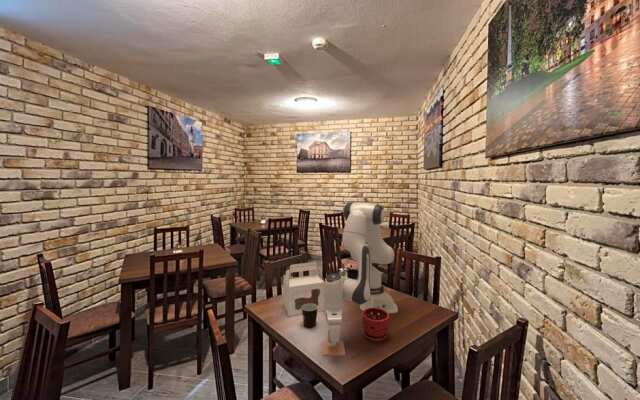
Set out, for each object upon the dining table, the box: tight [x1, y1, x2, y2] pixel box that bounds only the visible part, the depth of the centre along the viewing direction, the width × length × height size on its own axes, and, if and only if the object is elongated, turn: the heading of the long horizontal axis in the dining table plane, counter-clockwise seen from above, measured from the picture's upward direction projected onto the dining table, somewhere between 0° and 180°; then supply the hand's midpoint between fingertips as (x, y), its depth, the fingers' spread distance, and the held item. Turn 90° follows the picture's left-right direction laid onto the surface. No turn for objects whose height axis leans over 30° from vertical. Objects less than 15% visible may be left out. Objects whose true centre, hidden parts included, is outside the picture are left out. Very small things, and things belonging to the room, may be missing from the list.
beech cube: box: [327, 329, 340, 346], centre depth 130 cm, size 5×5×5 cm
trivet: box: [321, 340, 346, 357], centre depth 131 cm, size 10×10×1 cm
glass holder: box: [338, 268, 359, 280], centre depth 195 cm, size 9×14×15 cm, turn 91°
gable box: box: [282, 261, 325, 317], centre depth 170 cm, size 22×13×28 cm, turn 110°
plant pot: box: [361, 308, 390, 342], centre depth 140 cm, size 13×13×12 cm
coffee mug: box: [301, 304, 318, 329], centre depth 150 cm, size 12×9×10 cm
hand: (333, 339), depth 130 cm, fingers closed on beech cube, 5 cm apart
